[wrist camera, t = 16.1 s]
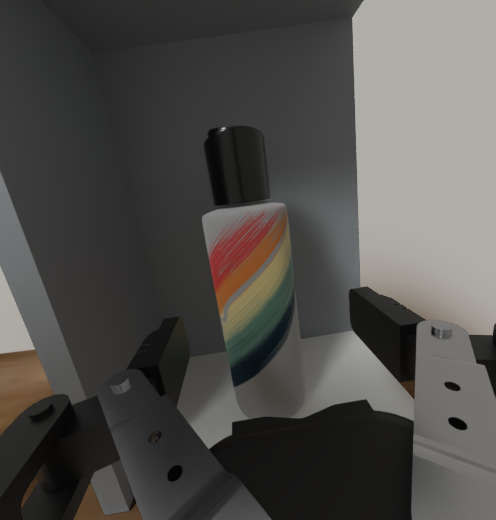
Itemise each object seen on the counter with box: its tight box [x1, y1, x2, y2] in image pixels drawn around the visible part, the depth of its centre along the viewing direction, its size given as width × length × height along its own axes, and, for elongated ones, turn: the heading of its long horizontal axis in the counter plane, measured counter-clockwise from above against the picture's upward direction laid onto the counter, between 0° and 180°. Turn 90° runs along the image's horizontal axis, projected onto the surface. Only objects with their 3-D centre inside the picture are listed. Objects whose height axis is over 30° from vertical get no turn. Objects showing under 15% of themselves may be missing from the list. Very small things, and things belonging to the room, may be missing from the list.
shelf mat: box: [177, 331, 414, 449], centre depth 22 cm, size 19×12×2 cm, turn 93°
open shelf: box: [0, 0, 363, 515], centre depth 18 cm, size 22×14×32 cm, turn 93°
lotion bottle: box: [202, 126, 305, 419], centre depth 18 cm, size 6×6×20 cm
